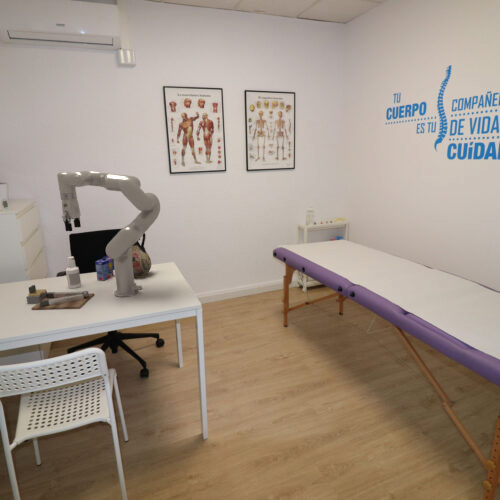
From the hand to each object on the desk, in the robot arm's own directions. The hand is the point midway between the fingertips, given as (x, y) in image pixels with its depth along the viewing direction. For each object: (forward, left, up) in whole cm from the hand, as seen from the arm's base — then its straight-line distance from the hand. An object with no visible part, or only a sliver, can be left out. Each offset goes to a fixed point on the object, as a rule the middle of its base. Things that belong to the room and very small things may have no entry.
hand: (73, 229), depth 189 cm
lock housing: (+21, +8, -37) cm, 43 cm away
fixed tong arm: (+7, +6, -36) cm, 37 cm away
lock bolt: (+20, +8, -33) cm, 39 cm away
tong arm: (+4, +13, -36) cm, 38 cm away
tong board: (+5, +11, -37) cm, 39 cm away
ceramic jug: (-24, -29, -37) cm, 53 cm away
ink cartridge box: (-3, -26, -37) cm, 45 cm away
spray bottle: (+10, -12, -37) cm, 40 cm away
